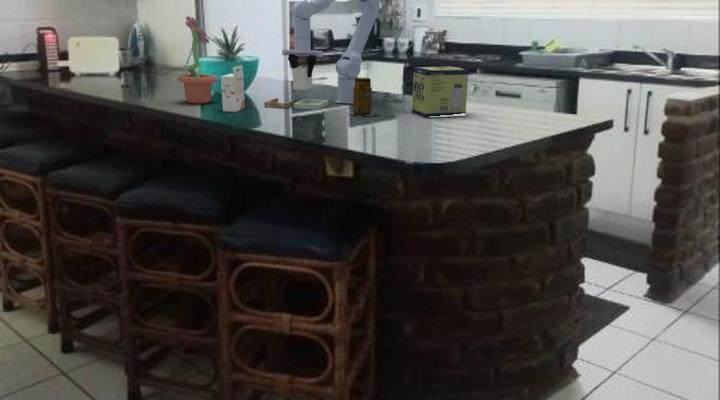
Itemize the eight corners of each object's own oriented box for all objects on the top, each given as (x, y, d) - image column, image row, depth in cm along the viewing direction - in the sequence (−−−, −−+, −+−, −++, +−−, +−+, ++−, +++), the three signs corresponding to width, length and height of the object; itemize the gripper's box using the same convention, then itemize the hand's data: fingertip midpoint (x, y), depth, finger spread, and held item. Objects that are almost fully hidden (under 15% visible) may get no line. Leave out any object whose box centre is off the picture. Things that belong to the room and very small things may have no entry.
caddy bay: (297, 104, 230) (297, 99, 229) (286, 108, 220) (286, 103, 219) (276, 102, 232) (275, 97, 231) (264, 107, 222) (264, 102, 221)
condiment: (366, 112, 216) (367, 76, 212) (378, 116, 208) (379, 79, 205) (347, 113, 213) (347, 77, 209) (358, 117, 205) (359, 80, 202)
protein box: (410, 113, 216) (412, 66, 211) (451, 111, 221) (454, 66, 216) (424, 118, 206) (426, 69, 202) (466, 116, 211) (469, 69, 207)
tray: (328, 104, 230) (328, 100, 230) (318, 109, 219) (318, 105, 218) (305, 103, 232) (304, 98, 232) (293, 108, 221) (293, 103, 220)
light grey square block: (312, 86, 231) (312, 65, 228) (305, 89, 224) (304, 67, 221) (300, 85, 232) (300, 64, 230) (293, 88, 225) (292, 67, 222)
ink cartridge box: (231, 107, 220) (229, 64, 216) (245, 108, 219) (243, 64, 215) (221, 111, 212) (219, 66, 208) (235, 112, 211) (233, 67, 207)
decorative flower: (225, 104, 227) (221, 16, 218) (188, 106, 220) (182, 16, 211) (209, 98, 239) (205, 15, 230) (173, 101, 231) (167, 15, 222)
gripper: (278, 37, 221) (279, 76, 225) (318, 38, 217) (318, 78, 221) (286, 36, 227) (286, 74, 231) (324, 37, 224) (324, 76, 228)
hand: (302, 76), depth 227 cm, fingers closed on light grey square block, 4 cm apart
